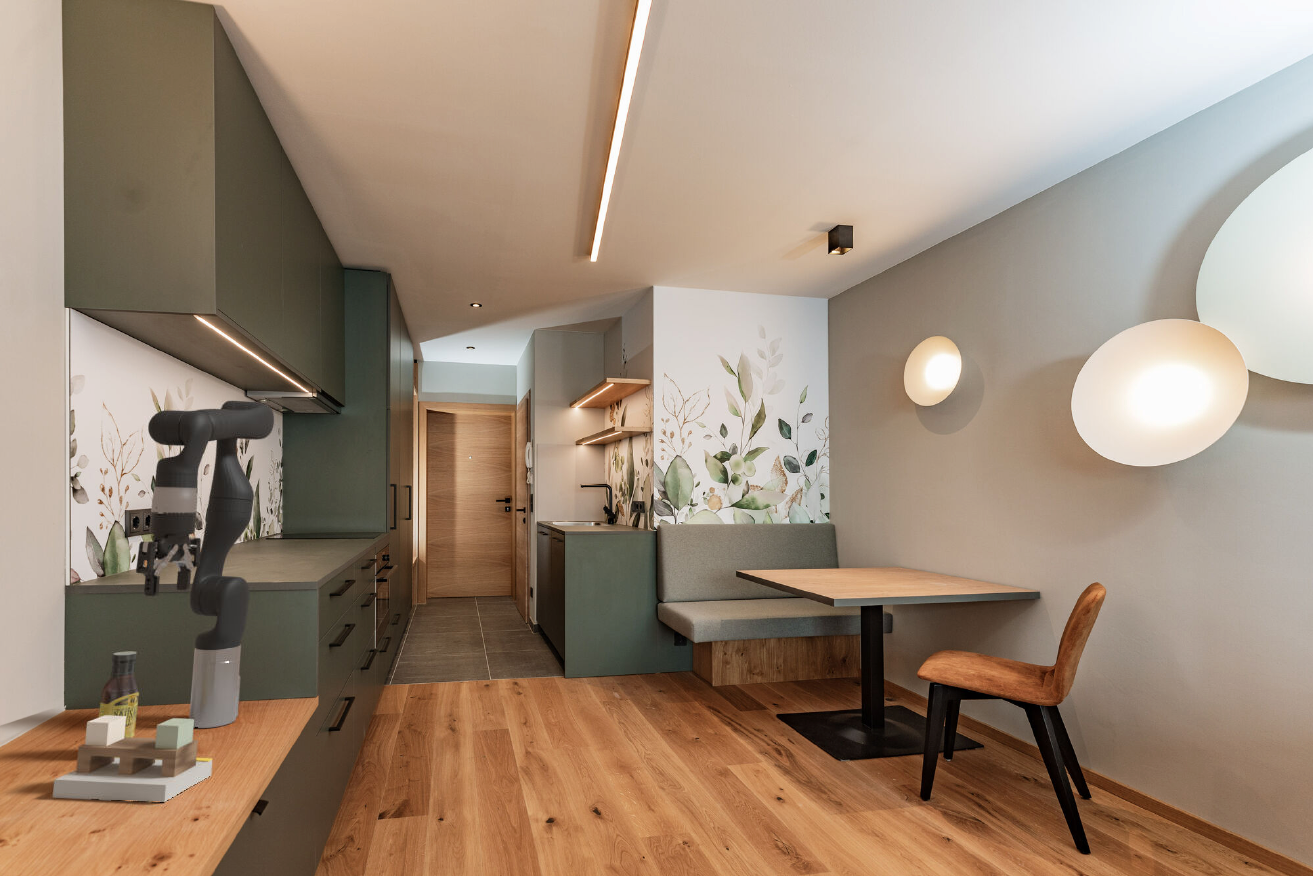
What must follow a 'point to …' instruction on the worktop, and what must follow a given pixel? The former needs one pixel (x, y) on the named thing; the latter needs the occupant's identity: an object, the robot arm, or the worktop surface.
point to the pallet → (137, 756)
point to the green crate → (174, 733)
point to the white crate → (105, 730)
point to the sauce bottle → (121, 691)
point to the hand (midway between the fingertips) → (167, 592)
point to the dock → (129, 782)
